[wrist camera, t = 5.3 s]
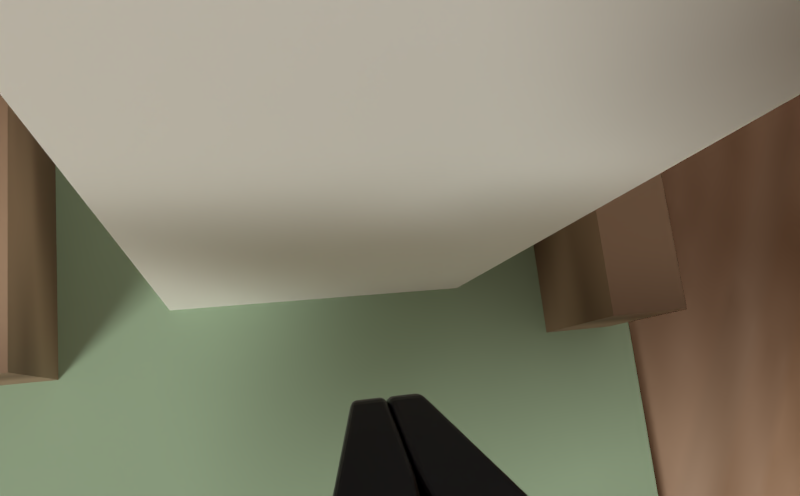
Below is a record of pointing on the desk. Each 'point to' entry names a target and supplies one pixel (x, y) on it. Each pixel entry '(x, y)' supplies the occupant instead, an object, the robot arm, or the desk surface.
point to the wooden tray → (555, 255)
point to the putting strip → (308, 384)
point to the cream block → (374, 126)
